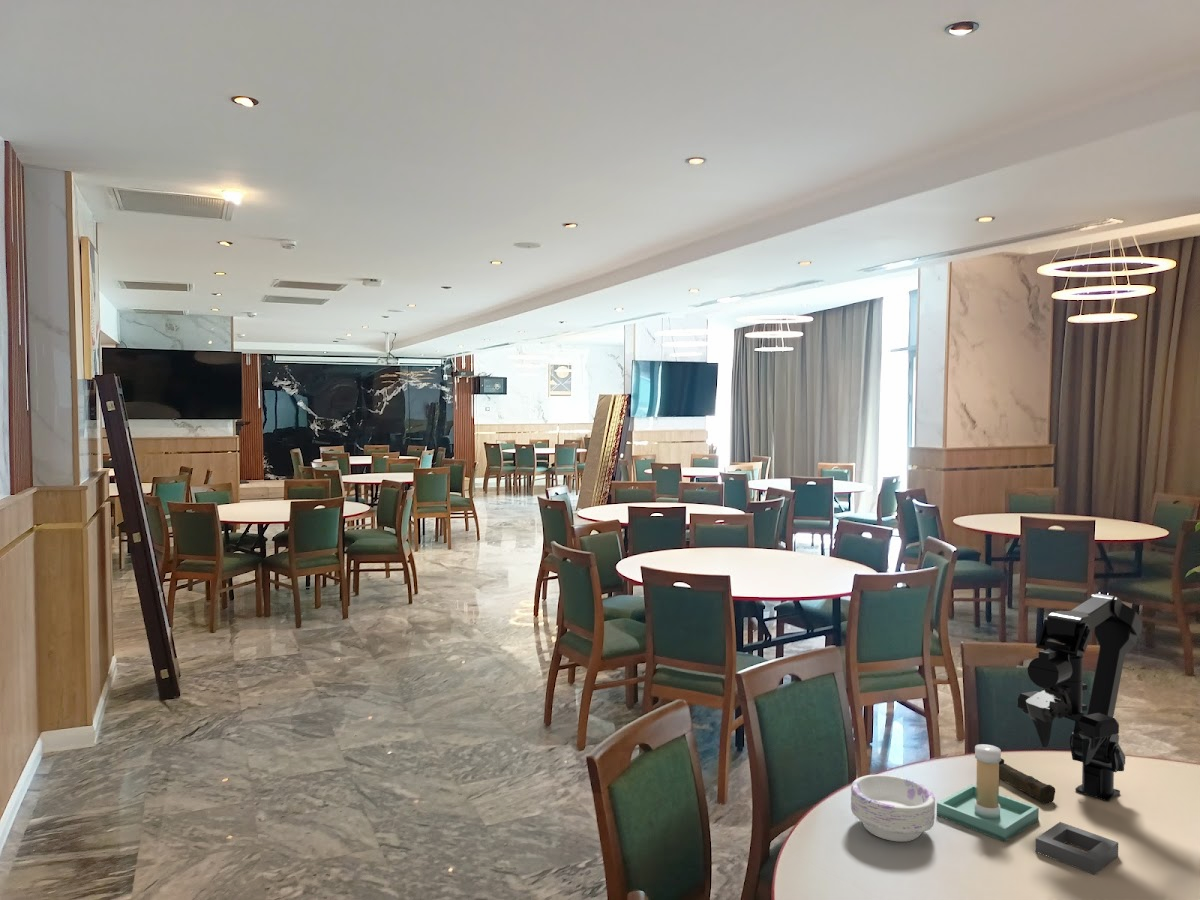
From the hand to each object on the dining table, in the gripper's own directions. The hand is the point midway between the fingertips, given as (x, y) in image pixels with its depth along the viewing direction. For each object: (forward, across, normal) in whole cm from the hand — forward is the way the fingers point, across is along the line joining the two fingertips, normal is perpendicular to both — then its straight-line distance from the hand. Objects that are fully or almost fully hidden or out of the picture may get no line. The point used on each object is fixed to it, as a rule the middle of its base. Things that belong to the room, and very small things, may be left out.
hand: (1065, 755), depth 166 cm
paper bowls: (+12, -8, -36) cm, 39 cm away
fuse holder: (+12, +12, -11) cm, 20 cm away
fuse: (+11, -5, -15) cm, 19 cm away
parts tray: (+12, -5, -15) cm, 20 cm away
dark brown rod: (+12, -14, +1) cm, 19 cm away
